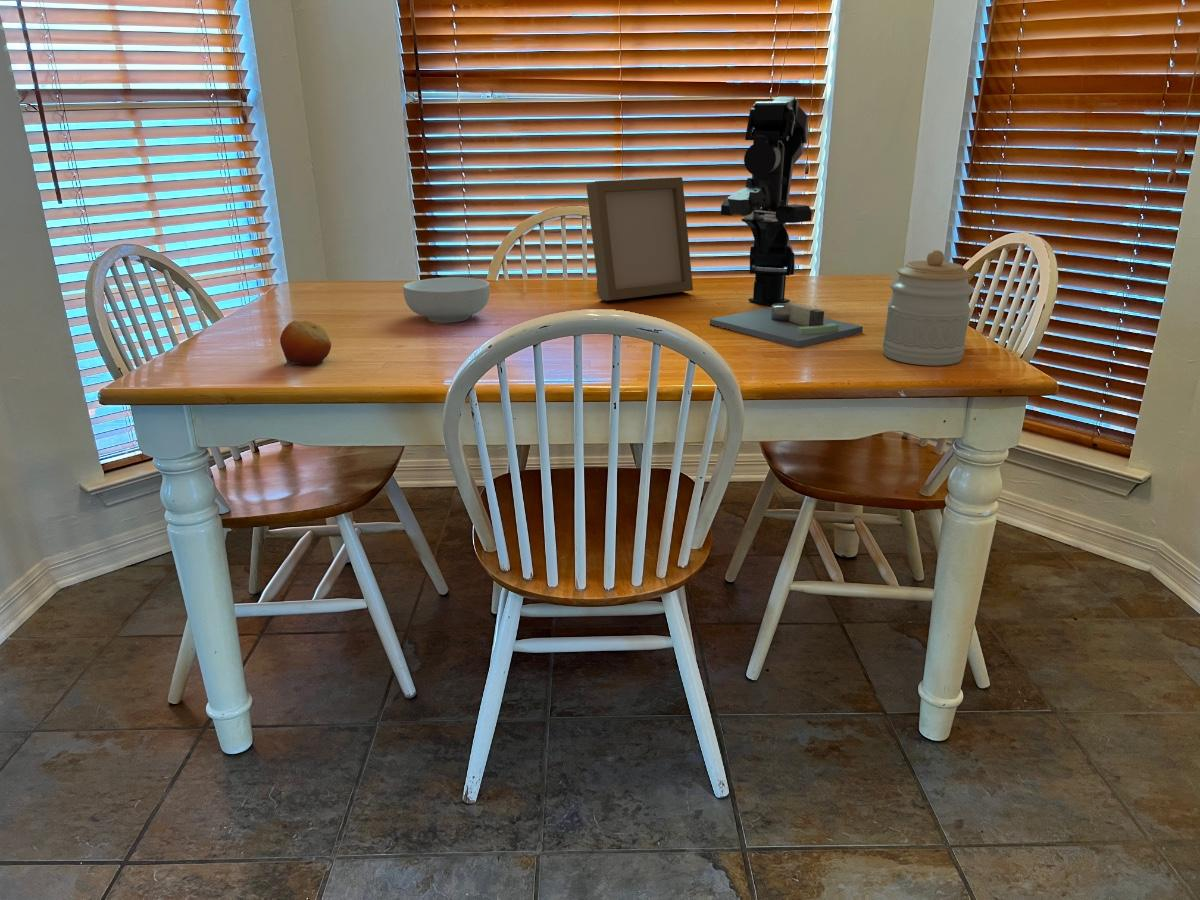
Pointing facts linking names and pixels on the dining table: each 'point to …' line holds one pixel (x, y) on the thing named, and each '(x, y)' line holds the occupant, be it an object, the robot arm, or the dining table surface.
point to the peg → (797, 314)
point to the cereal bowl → (447, 298)
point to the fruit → (304, 343)
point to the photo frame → (639, 237)
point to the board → (785, 328)
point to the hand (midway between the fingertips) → (762, 255)
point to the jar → (928, 312)
